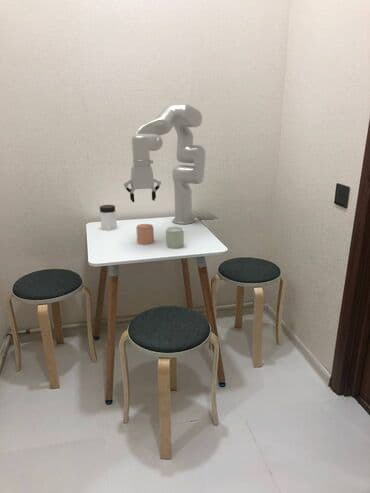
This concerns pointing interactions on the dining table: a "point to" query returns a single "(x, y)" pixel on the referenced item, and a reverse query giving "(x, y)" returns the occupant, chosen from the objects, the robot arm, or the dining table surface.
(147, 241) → the peach octagonal canister
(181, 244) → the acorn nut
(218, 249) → the dining table surface
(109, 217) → the jar
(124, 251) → the dining table surface
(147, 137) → the robot arm
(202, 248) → the dining table surface
